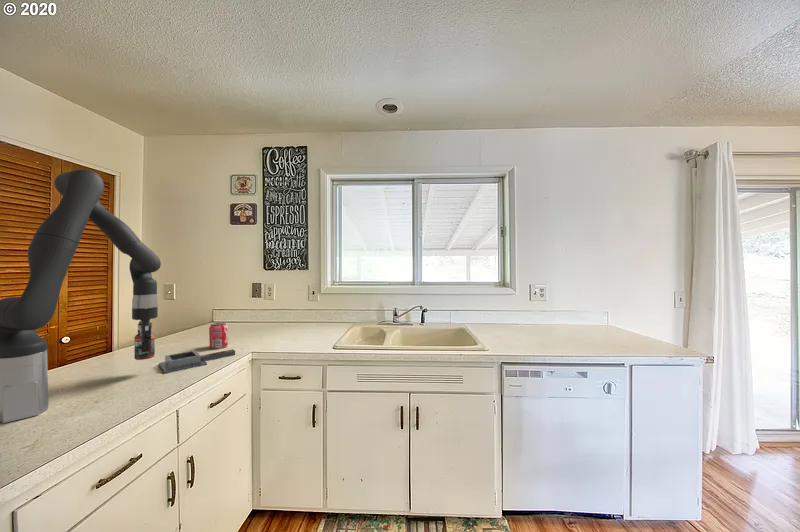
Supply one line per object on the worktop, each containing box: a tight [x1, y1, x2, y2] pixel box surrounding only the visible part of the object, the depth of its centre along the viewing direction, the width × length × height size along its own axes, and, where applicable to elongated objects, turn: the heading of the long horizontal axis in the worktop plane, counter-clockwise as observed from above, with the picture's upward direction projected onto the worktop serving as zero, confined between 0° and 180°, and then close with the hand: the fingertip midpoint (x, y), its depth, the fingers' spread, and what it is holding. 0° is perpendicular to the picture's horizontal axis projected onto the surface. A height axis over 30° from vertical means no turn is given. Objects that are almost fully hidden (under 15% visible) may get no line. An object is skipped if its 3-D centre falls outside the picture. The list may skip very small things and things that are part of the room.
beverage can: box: [208, 321, 229, 350], centre depth 150 cm, size 8×8×12 cm
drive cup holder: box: [158, 349, 236, 375], centre depth 129 cm, size 14×26×4 cm, turn 136°
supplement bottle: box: [133, 329, 156, 361], centre depth 115 cm, size 6×6×11 cm
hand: (144, 349), depth 115 cm, fingers closed on supplement bottle, 6 cm apart
